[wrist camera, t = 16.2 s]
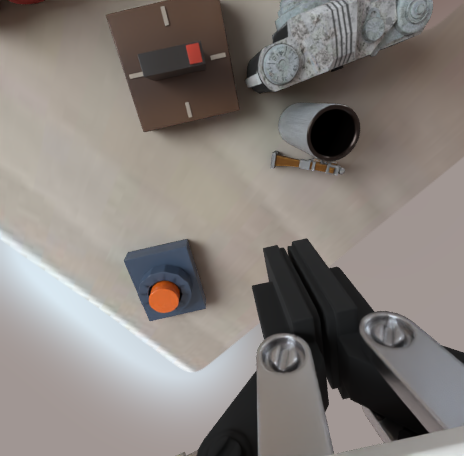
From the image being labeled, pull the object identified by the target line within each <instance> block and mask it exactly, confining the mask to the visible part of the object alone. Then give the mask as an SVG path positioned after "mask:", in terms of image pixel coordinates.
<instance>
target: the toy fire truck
mask: <svg viewBox="0 0 464 456" xmlns="http://www.w3.org/2000/svg"><path fill="white" fill-rule="evenodd" d="M8 1H10V2H13V3H16V4H36V3H39V2H42V1H45V0H8Z"/></svg>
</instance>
